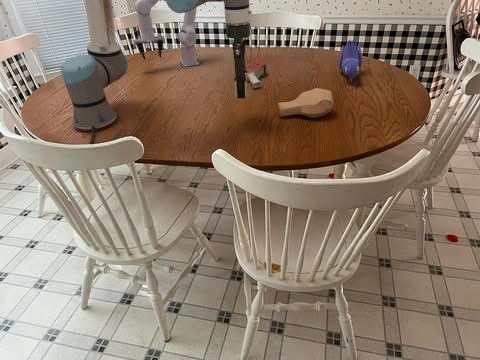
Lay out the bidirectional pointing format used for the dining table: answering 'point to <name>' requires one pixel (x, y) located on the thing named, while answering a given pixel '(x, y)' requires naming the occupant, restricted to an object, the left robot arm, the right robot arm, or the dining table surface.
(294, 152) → the dining table surface
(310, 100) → the squash
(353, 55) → the toy
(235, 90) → the canister
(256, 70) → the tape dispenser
